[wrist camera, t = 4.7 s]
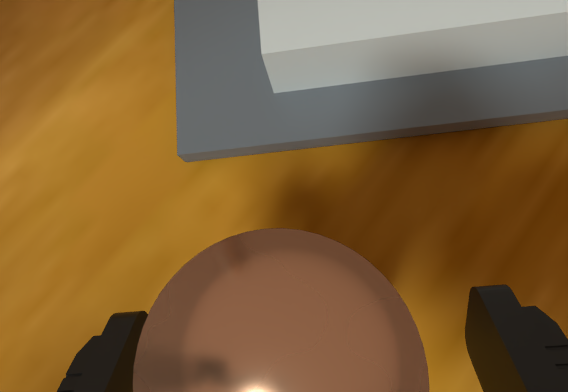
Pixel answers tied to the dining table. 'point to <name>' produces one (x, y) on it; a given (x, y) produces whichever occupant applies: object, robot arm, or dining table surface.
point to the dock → (333, 113)
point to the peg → (279, 322)
